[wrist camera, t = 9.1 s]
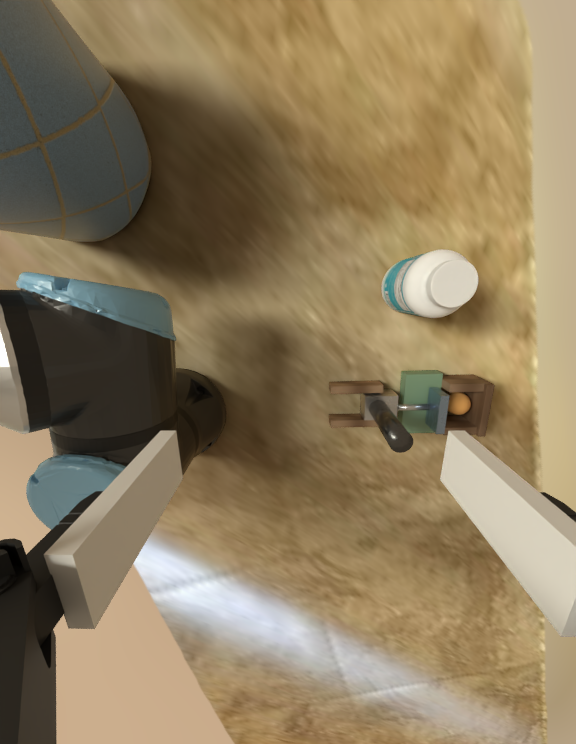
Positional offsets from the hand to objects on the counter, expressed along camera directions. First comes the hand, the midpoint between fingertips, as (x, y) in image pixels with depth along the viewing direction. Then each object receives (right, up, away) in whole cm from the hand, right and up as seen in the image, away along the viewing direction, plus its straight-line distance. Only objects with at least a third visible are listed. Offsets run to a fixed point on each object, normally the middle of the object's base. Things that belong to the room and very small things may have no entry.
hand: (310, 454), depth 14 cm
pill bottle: (+16, +17, +27) cm, 36 cm away
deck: (+20, -1, +32) cm, 38 cm away
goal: (+26, 0, +32) cm, 41 cm away
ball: (+26, -1, +30) cm, 40 cm away
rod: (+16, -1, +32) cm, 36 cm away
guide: (+10, -1, +33) cm, 34 cm away
